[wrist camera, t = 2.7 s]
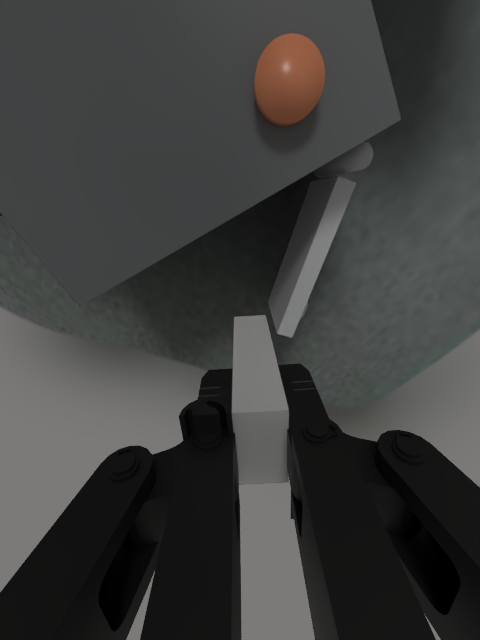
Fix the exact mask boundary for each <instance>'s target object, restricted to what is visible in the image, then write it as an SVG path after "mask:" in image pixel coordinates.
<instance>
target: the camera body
mask: <svg viewBox="0 0 480 640" xmlns="http://www.w3.org/2000/svg"><path fill="white" fill-rule="evenodd" d="M400 120H401V116H400V112H399V108H398V104H397V100H396V96H395V92H394V88H393V84H392V80H391V76H390V73H389V69H388V65H387V61H386V57H385V53H384V49H383V45H382V41H381V37H380V33H379V29H378V25H377V22H376V18H375V14H374V10H373V6H372V2H371V0H0V215H1V216H4V218H5V219H6V220H7V221H8V222H9V224H10V225H11V226H12V227H13V228H14V230H15V231H16V232H17V233H18V234H19V235H20V237H21V238H22V239H23V240H24V241H25V243H26V244H27V245H28V246H29V247H30V249H31V250H32V251H33V252H34V253H35V255H36V256H37V257H38V258H39V259H40V260H41V262H42V263H43V264H44V265H45V266H46V268H47V269H48V270H49V271H50V272H51V274H52V275H53V276H54V277H55V278H56V280H57V281H58V282H59V283H60V284H61V285H62V287H63V288H64V289H65V290H66V291H67V293H68V294H69V295H70V296H71V297H72V299H73V300H74V301H75V302H76V303H77V304H78V306H79V307H81V306H82V305H84V304H86V303H88V302H89V301H91V300H93V299H94V298H96V297H98V296H100V295H101V294H103V293H105V292H106V291H108V290H110V289H112V288H113V287H115V286H117V285H118V284H120V283H122V282H124V281H125V280H127V279H129V278H130V277H132V276H134V275H136V274H137V273H139V272H141V271H142V270H144V269H146V268H148V267H149V266H151V265H153V264H154V263H156V262H158V261H160V260H161V259H163V258H165V257H166V256H168V255H170V254H172V253H173V252H175V251H177V250H179V249H180V248H182V247H184V246H185V245H187V244H189V243H191V242H192V241H194V240H196V239H197V238H199V237H201V236H203V235H204V234H206V233H208V232H209V231H211V230H213V229H215V228H216V227H218V226H220V225H221V224H223V223H225V222H227V221H228V220H230V219H232V218H233V217H235V216H237V215H239V214H240V213H242V212H244V211H245V210H247V209H249V208H251V207H252V206H254V205H256V204H257V203H259V202H261V201H263V200H264V199H266V198H268V197H269V196H271V195H273V194H275V193H276V192H278V191H280V190H282V189H283V188H285V187H287V186H288V185H290V184H292V183H294V182H295V181H297V180H299V179H300V178H302V177H304V176H306V175H307V174H309V173H311V172H312V171H313V173H314V175H315V176H316V177H318V178H324V177H329V176H334V175H340V174H345V173H350V172H355V171H361V170H363V169H365V168H366V167H368V166H369V164H370V163H371V161H372V158H373V149H372V147H371V145H370V144H369V143H368V142H365V141H366V140H367V139H369V138H371V137H372V136H374V135H376V134H378V133H379V132H381V131H383V130H385V129H386V128H388V127H390V126H391V125H393V124H395V123H397V122H398V121H400Z"/></svg>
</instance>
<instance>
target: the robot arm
mask: <svg viewBox="0 0 480 640" xmlns="http://www.w3.org/2000/svg"><path fill="white" fill-rule="evenodd" d="M179 419H180V425H181V430H182V435H183V440H184V441H182V442H181V443H180V444H178V445H177V446H175V447H173V448H171V449H168V450H166V451H162V452H159V453H156V454H153V455H152V454H151V453H150V452H149V450H148V449H147V448H144V447H141V446H128V447H125V448H122V449H119V450H117V451H116V452H114V453H112V454H111V455H110V456H108V457H107V458H106V459H105V460H104V461H103V462H102V463H101V464H100V466H99V467H98V468H97V469H96V471H95V472H94V473H93V475H92V476H91V477H90V478H89V480H88V481H87V482H86V483H85V485H84V486H83V487H82V489H81V490H80V491H79V493H78V494H77V495H76V496H75V498H74V499H73V500H72V501H71V503H70V504H69V505H68V507H67V508H66V509H65V510H64V512H63V513H62V514H61V516H60V517H59V518H58V519H57V521H56V522H55V523H54V525H53V526H52V527H51V529H50V530H49V531H48V532H47V533H46V535H45V536H44V538H43V539H42V540H41V541H40V542H39V544H38V545H37V547H36V548H35V549H34V550H33V551H32V553H31V554H30V555H29V557H28V558H27V559H26V560H25V562H24V563H23V564H22V566H21V567H20V568H19V570H18V571H17V572H16V573H15V575H14V576H13V577H12V578H11V580H10V581H9V582H8V584H7V585H6V586H5V587H4V589H3V590H2V591H1V592H0V640H126V638H127V636H128V634H129V631H130V629H131V626H132V624H133V622H134V619H135V616H136V614H137V612H138V610H139V607H140V605H141V602H142V600H143V597H144V595H145V593H146V590H147V588H148V585H149V583H150V581H151V578H152V576H153V573H154V571H155V574H154V579H153V583H152V588H151V593H150V597H149V602H148V606H147V611H146V615H145V620H144V625H143V629H142V634H141V639H140V640H241V567H240V503H239V502H240V501H239V489H238V488H239V485H242V484H259V483H260V484H261V483H279V482H280V483H281V482H288V474H289V480H290V485H291V519H294V520H295V527H296V533H297V538H298V544H299V549H300V556H301V561H302V567H303V573H304V578H305V584H306V589H307V595H308V600H309V607H310V612H311V618H312V623H313V629H314V635H315V640H436V639H435V637H434V635H433V632H432V630H431V628H430V626H429V624H428V621H427V619H426V617H427V618H428V620H429V621H430V623H431V625H432V626H433V628H434V629H435V631H436V632H437V634H438V636H439V637H440V639H441V640H480V487H478V486H477V485H476V484H475V483H474V482H473V481H472V480H471V479H470V478H468V477H467V476H466V475H465V474H464V473H463V472H462V471H461V470H459V469H458V468H457V467H456V466H455V465H454V464H453V463H452V462H450V461H449V460H448V459H447V458H446V457H445V456H443V454H442V453H441V452H439V451H438V450H437V449H436V448H435V447H434V446H433V445H432V444H430V443H429V442H427V441H426V440H425V439H423V438H422V437H420V436H417V435H415V434H413V433H410V432H406V431H400V430H393V431H387V432H385V433H383V434H381V436H380V438H379V439H378V441H377V442H375V441H370V440H365V439H360V438H356V437H352V436H349V435H347V434H345V433H343V432H342V430H341V429H340V428H339V426H338V425H337V424H336V423H334V422H333V421H331V420H330V419H329V418H328V415H327V413H326V410H325V408H324V406H323V403H322V401H321V398H320V396H319V394H318V391H317V389H316V386H315V384H314V382H313V379H312V377H311V375H310V372H309V371H308V370H307V369H306V368H305V367H304V366H303V365H301V364H287V365H278V364H277V360H276V356H275V352H274V347H273V343H272V339H271V335H270V331H269V327H268V323H267V319H266V315H257V316H241V317H234V340H233V369H218V370H208V372H207V373H206V374H205V375H204V376H203V378H202V380H201V385H200V390H199V397H198V400H196V401H194V402H192V403H189V404H188V405H187V406H186V407H185V408H184V409H183V410H182V411H181V414H180V415H179ZM424 614H425V615H426V617H425V615H424Z"/></svg>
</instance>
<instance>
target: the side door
mask: <svg viewBox="0 0 480 640" xmlns="http://www.w3.org/2000/svg"><path fill="white" fill-rule="evenodd" d="M355 185H356V183H355V182H353V181H350V180H347V179H344V178H341V177H332V178H327V179H321V180H315V181H311V182H310V185H309V188H308V191H307V193H306V196H305V199H304V202H303V205H302V208H301V210H300V213H299V216H298V219H297V222H296V224H295V227H294V230H293V233H292V236H291V238H290V241H289V244H288V247H287V250H286V253H285V255H284V258H283V261H282V264H281V267H280V269H279V272H278V275H277V278H276V281H275V283H274V286H273V289H272V292H271V295H270V298H269V300H268V305H269V308H270V312H271V315H272V318H273V322H274V325H275V329H276V332H277V334H280V335H284V336H287V337H291V338H292V337H293V335H294V332H295V330H296V328H297V325H298V323H299V320H300V318H303V316H304V314H305V312H306V309H307V307H308V302H307V301H308V299H309V296H310V294H311V291H312V289H313V287H314V284H315V282H316V279H317V277H318V275H319V272H320V270H321V267H322V265H323V263H324V260H325V258H326V255H327V253H328V250H329V248H330V246H331V243H332V241H333V238H334V236H335V234H336V231H337V229H338V226H339V224H340V222H341V219H342V217H343V214H344V212H345V210H346V207H347V205H348V202H349V200H350V198H351V195H352V193H353V190H354V188H355Z"/></svg>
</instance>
